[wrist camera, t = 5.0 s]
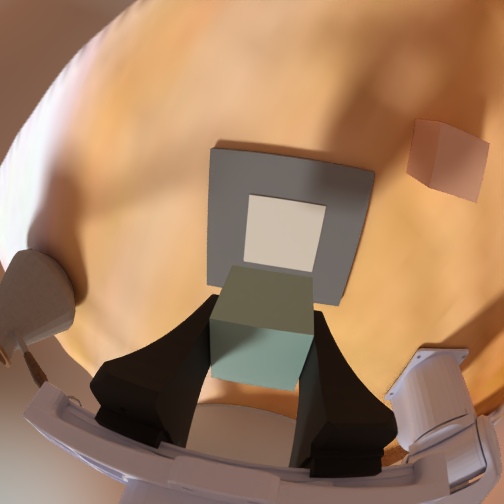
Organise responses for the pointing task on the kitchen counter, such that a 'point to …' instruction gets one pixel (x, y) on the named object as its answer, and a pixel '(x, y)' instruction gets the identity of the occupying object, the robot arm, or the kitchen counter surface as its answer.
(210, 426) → the kettle
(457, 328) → the kitchen counter surface
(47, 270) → the coffee pot
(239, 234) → the grey flat square plate
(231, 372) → the base block
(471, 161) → the top block
